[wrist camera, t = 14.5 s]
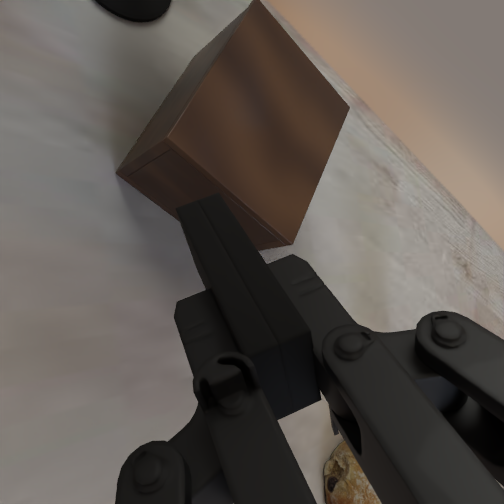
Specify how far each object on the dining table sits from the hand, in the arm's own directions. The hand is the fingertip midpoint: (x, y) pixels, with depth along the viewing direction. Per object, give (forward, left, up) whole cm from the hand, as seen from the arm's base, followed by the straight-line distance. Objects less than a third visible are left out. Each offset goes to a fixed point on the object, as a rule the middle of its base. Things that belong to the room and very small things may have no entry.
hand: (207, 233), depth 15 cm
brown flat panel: (-11, +18, -16) cm, 26 cm away
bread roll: (+28, +32, -25) cm, 50 cm away
